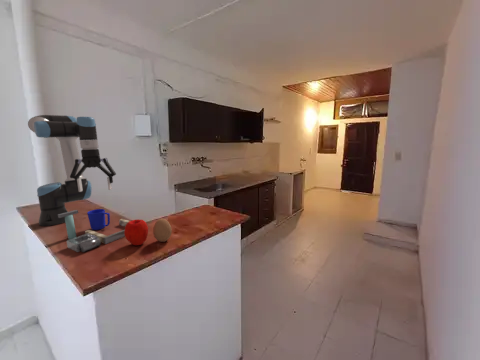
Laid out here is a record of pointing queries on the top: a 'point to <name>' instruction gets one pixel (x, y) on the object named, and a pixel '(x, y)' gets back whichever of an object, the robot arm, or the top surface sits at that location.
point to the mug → (98, 219)
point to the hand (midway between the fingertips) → (95, 190)
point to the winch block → (83, 242)
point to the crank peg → (69, 223)
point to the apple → (136, 231)
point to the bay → (111, 237)
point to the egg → (162, 230)
